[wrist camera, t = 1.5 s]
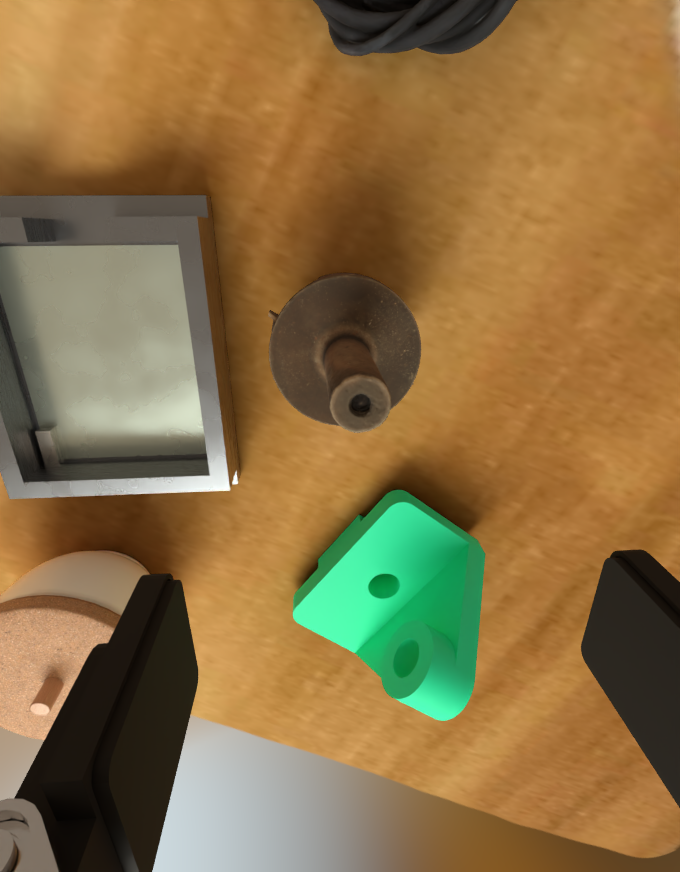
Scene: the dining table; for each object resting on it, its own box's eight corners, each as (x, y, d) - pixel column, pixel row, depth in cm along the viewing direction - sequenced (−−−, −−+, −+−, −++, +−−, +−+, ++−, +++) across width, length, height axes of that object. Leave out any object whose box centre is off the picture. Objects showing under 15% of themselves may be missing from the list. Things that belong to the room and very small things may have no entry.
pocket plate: (210, 196, 23) (194, 190, 20) (240, 474, 30) (231, 505, 26) (-37, 197, 23) (-97, 191, 19) (49, 481, 29) (14, 514, 26)
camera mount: (392, 475, 31) (430, 582, 21) (472, 530, 33) (537, 648, 24) (288, 590, 34) (280, 725, 25) (366, 633, 36) (387, 772, 27)
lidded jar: (210, 557, 32) (176, 674, 24) (155, 657, 36) (107, 790, 27) (55, 497, 30) (-48, 604, 21) (11, 611, 33) (-93, 743, 24)
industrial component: (245, 334, 26) (201, 406, 15) (331, 233, 24) (350, 233, 13) (363, 433, 29) (396, 554, 18) (447, 350, 27) (540, 428, 16)
